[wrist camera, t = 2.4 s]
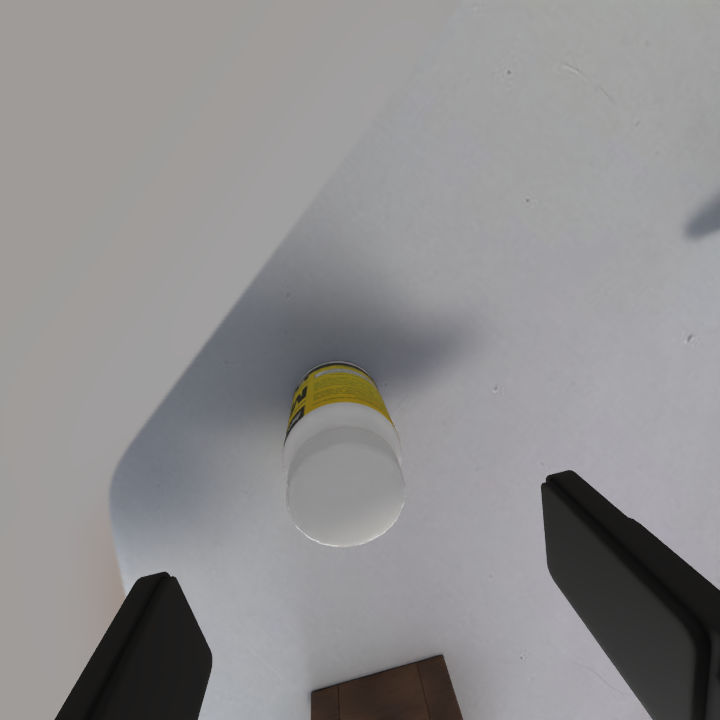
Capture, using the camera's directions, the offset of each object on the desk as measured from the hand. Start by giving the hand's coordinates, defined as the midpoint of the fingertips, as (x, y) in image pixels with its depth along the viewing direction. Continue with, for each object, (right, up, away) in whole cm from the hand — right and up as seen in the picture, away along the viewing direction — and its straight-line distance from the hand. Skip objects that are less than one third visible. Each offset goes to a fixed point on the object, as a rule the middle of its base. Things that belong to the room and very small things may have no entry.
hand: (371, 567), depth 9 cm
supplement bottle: (-2, +3, +11) cm, 12 cm away
